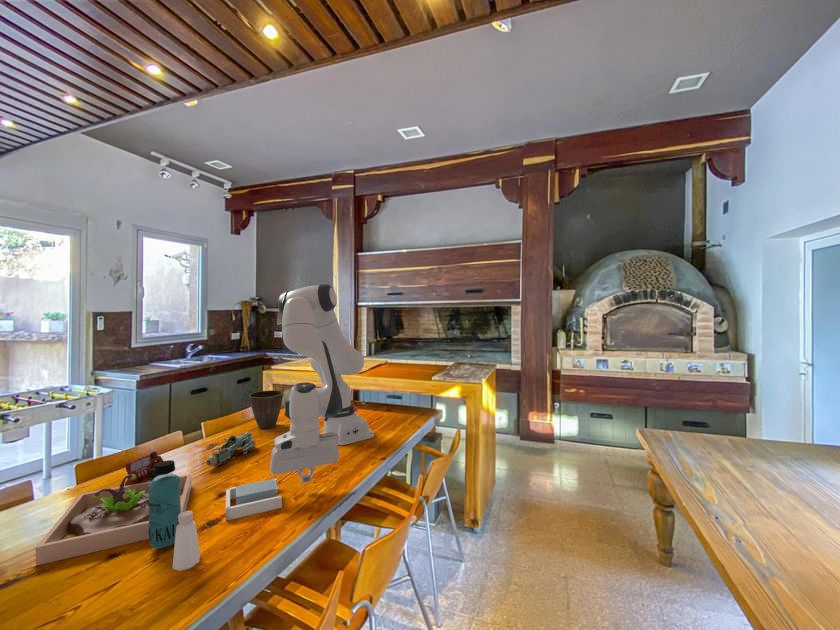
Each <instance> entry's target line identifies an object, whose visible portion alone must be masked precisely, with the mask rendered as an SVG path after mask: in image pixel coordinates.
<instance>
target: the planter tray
mask: <svg viewBox="0 0 840 630" xmlns="http://www.w3.org/2000/svg"><path fill="white" fill-rule="evenodd" d="M178 476H179V477H180V491H182V490H183V491H182V494H181V496H180V504H181V507H182V508H181V512H185V511H187V509H188V504H189V501H190V495H191V490H192V485H193V484H192V474H191V473H190V474H185V475H178ZM150 482H151V481H150ZM150 482H145V483H139V484H134V485H128V486H125V485H124V490H126V489H128V488H129V489H130V490H131V491H132V490H133V489H135V493H139V492H141V491H144V490H145V491H147V492H149V483H150ZM110 489H113V490H114V491H117V492H118V491H119V489H120V486H118V487H113V488H110ZM98 491H99V490H95V491H90V492H84V493H80V494H79V495H78V496H77V497H76V498H75V500H74V501H73V502H72V503H71V505H70V506H69V507H68V508H67V509H66V511H64V513H63V514H62V515H61V517H60V518H59V519H58V520H57V522H56V523H55V524H54V525H53V526H52V527H51V529H49V531H48V532H47V533H46V534H45V536H44V537H43V538H42V540H40V542H39V543H38V544H37V545H36V547H35V566H36V567H37V566H41V565H46V564H50V563H54V562H58V561H62V560H66V559H70V558H74V557H79V556H83V555H88V554H90V553H91V554H92V553H94V552H99V551H105V550H108V549H112V548H116V547H120V546H121V547H122V546H125V545H128V544H134V543H138V542H141V541H146V540H149V538H148V525H149V521H146V522H141V523H137V524H132V525H128V526H123V527H118V528H114V529H109V530H105V531H100V532H96V533H91V534H86V535H82V536H80V535H78V536H73V537H69V538H64V539H63V537H64V536H65V535H66V534H67V532H68V531H69V530H70V529H69V522H70V520H71V519H72V518H73V517H74V516H76V515H79V514H82V513H83V511H84V509H85V510H87V509H88V508H91V507H95V506H97V505H99V504H102V503H103V501H102V500H101V498H104V497H108V498H112V494H111V493H110V492H108V491H102V492H100V493H99V497H98V498H97V499H93V495H94V494H95V493H96V492H98Z"/></svg>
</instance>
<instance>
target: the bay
mask: <svg viewBox="0 0 840 630" xmlns="http://www.w3.org/2000/svg"><path fill="white" fill-rule="evenodd" d="M272 479H273V481H274V480H276V484H277V485H278V479H277V478H272ZM225 493H226V494H225V521H226V522H227V521H232V520H234V519H239V518H243V517H247V516H252V515H257V514H260V513H264V512H269V511H272V510H278V509H281V508H282V509H283V502H282V501H283V499H282V495H278V496H276V495H275V497H272V498H267V499H263V500H258V501H254V502H249V503H245V504H240V505H236V504H235V505H232V506H231V500H234V499H235V500H236V486H233V487H229V488H226V490H225Z"/></svg>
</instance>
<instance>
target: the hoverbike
mask: <svg viewBox="0 0 840 630" xmlns="http://www.w3.org/2000/svg"><path fill="white" fill-rule="evenodd" d="M223 441H226V443H224V444H222V445H220V447H219V448H220V450H219V448H218V447H217V446H215V447H214V450H213V453H212V454H211V455H209V456H208V457H207V458H206V461H205V464H206V466H209V467H214V466H216V465H217V464H219V465H220V466H224V464H226V463H227V462H229V461H230V459H232V458H234V456H233V455H234V454H236V452H237V450H238V449H239V450H242V454H243V455H247V453H248V451H250V452H251V451H254V449H255V447H256V446H257V444H256V440H255V439H254V440H253V434H252V433H250V432H248V431H246V432H245V433H243V434H241V435H239V436H234V435H231V436H230V437H228V439H226V438H223Z"/></svg>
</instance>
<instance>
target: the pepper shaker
mask: <svg viewBox="0 0 840 630" xmlns="http://www.w3.org/2000/svg"><path fill="white" fill-rule="evenodd" d="M193 518H194V512H193V511H192V510H186V511H185V512H182V513H180V514H179V515H178V519H179V520H178V521H179V525H177V528H176V535H175V543H174V548H173V558H172V559H173V560H172V570H175V571H178V572H182V571H185V570H189V569H191V568H193V567H194V566H196V565H197V564H199V562H200V558H201V554H200V553H201V552H200V545H199V539H198V532H197V525H196V521H194V520H193Z"/></svg>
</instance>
